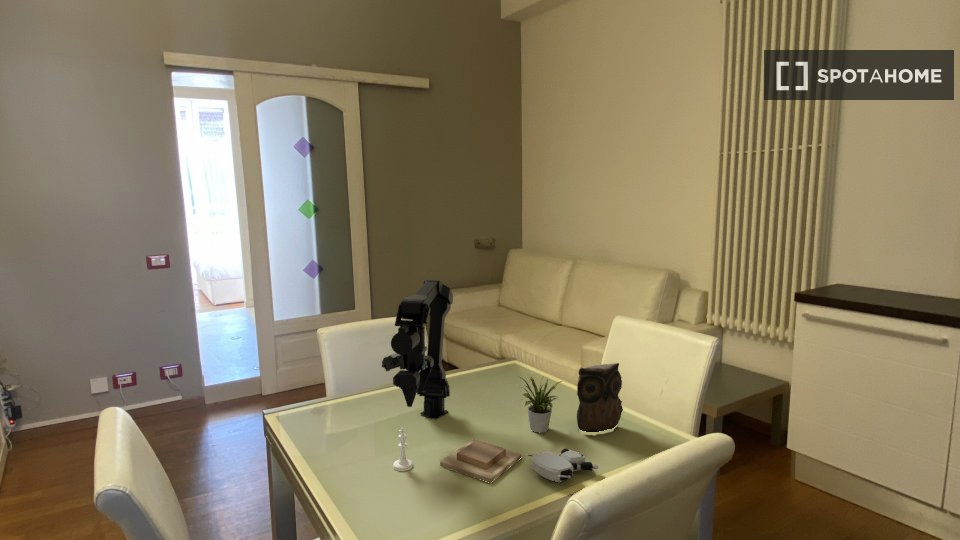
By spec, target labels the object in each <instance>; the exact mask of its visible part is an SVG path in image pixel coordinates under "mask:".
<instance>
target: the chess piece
mask: <svg viewBox="0 0 960 540" xmlns="http://www.w3.org/2000/svg"><path fill="white" fill-rule="evenodd" d="M398 432H399V433H400V434H399V435H398V440H399V443H398V444H397V446H398V447H399V448H400V449H399V450H400V452H399V453H400V454H399V459H397V460H395V461H394V462H393V463H392V468H393V470H394V471H397V472H406V471H409V470H411V469H413V466H414V465H413V461H412V460H410V459H408V458H407V455H406V449H405V448H406V447H407V446H408V443H407V442H406V439H407V437H408V435H407V434H406V433H407V430H404V427H401V429H399V430H398Z"/></svg>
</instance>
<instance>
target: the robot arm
mask: <svg viewBox="0 0 960 540" xmlns="http://www.w3.org/2000/svg"><path fill="white" fill-rule="evenodd" d="M453 294H454V293H453V291H452V289H451V288H450V287H449V286H447V285H446V284H444V283H443V282H442V281H441V280H440V279H426V280H424V281H423V284H422V285H421V287H420V288H419V289H418V290H417V291H416V292H415V294H412V295H409V296H408V295H407V296H406V297H404V298H403V299H402V300H401V301H400V302H399V304H398V308H397V313H396V317H395V322H394V327H398V328H397V330H398V331H397V333H395V334H394V335H393V336H392V338H391V341H390V347H391V349H392V350H393V352H395V353H394V354H389V355H386V356H384V357H383V359H382V360H381V363H382V364H381V368H383V369H384V370H385V372H390V371H391V370H394V369H397V368H399V371H398V372H397V373H395V375H394V376H393V377H392V385H394V386H395V387H396V388H399V389H400V390H401V391H402V394H403V397H404V400H405V403H406V406H407V407H408V408H411V407H413V404H414V401H415V400H416V399H415V398H416V396H417V395H418V396H419V397H423V411H421V412H420V413H419V414H420V415H421V416H423V417H428V418H431V419H434V420H437V419H439V418H441V417H443V416H445V415H446V414H448V413H449V410H447V409H445V399H446V398H447V397H448V398H449V397H451V392H450V391H451V390H450V385H449V382H448V379H447V372H446V370H445V369H444V366H443V364H442V362H443V361H442V359H443V348H444V333H445V332H444V331H445V321H446V320H445V319H446V317H447V315H448V314H449V312H450V311H451V307H452V305H453V302H454V295H453ZM428 322H429V327H428V328H429V329H428V341H427V346H426V331H425V330H426V325H427V324H428ZM426 351H427V352H426ZM426 353H427V355H426Z"/></svg>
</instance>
